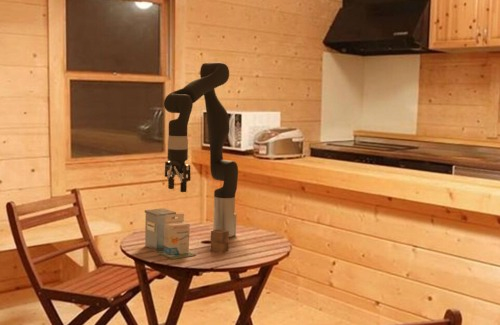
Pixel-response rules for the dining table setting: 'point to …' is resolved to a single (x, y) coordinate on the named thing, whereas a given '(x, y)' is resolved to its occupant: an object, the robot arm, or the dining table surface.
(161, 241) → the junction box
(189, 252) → the pad
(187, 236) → the ink box
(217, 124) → the robot arm
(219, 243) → the walnut block
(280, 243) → the dining table surface
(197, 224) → the dining table surface
